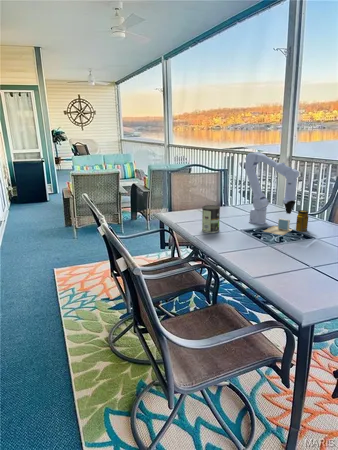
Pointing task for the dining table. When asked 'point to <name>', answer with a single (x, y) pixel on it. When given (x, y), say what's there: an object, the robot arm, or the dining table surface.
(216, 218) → the coffee can
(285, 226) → the block
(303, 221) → the condiment
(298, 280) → the dining table surface
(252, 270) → the dining table surface
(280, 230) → the mat
